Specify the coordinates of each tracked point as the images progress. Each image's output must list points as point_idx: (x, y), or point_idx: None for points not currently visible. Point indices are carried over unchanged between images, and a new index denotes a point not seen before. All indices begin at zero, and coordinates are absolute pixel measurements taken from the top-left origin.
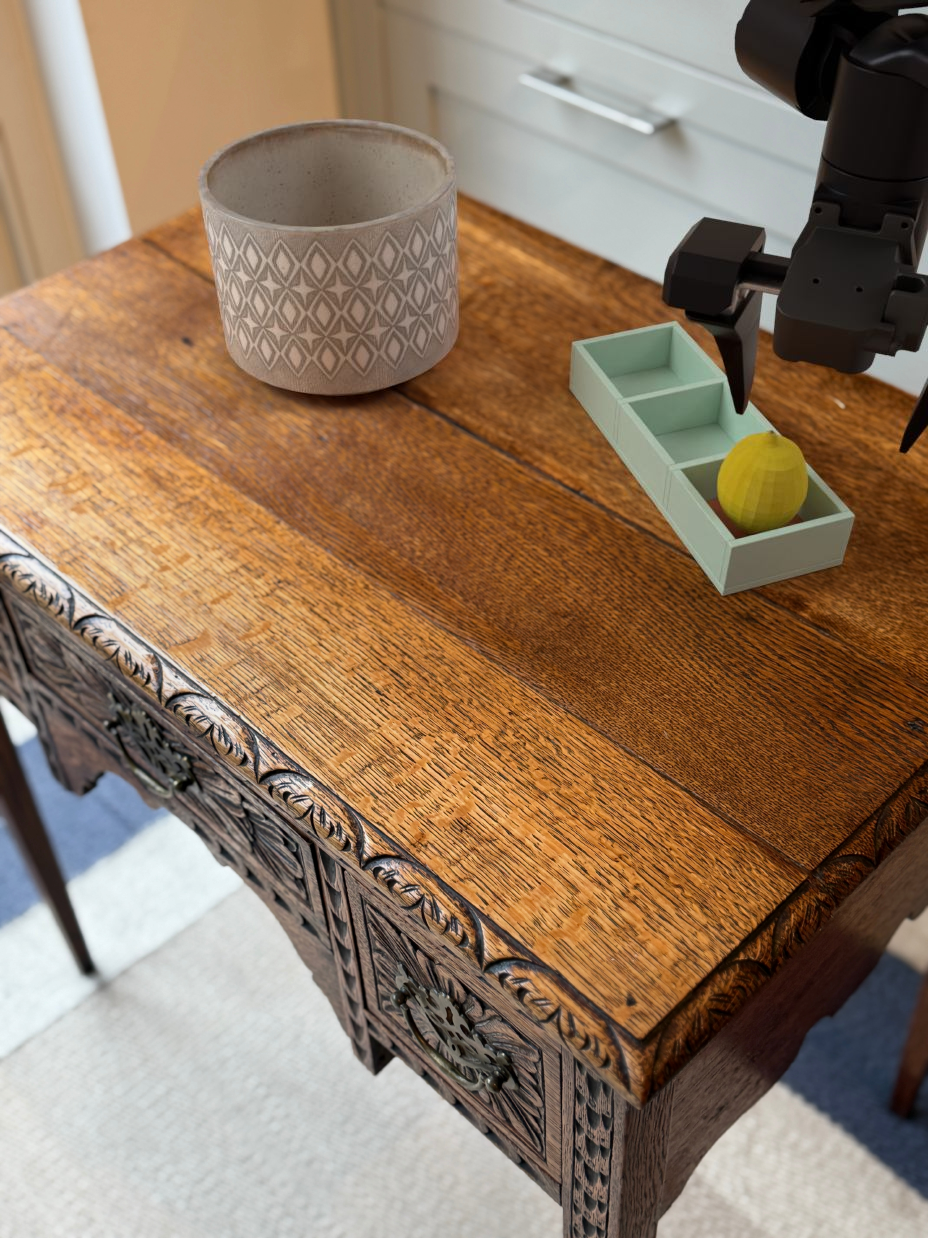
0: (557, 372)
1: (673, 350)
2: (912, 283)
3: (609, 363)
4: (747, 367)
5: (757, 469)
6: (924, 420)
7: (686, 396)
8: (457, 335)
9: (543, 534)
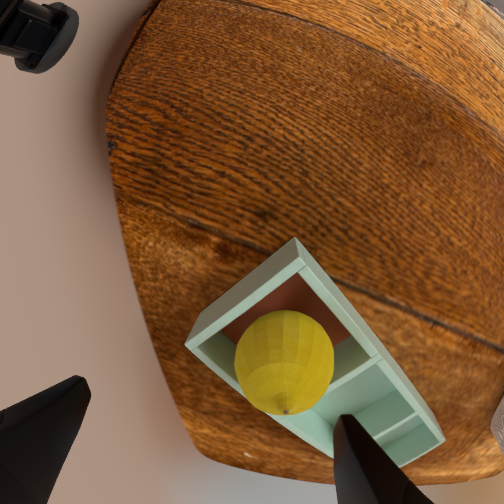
0: (438, 421)
1: None
2: None
3: (413, 439)
4: (358, 493)
5: (293, 360)
6: (24, 405)
7: None
8: (494, 413)
9: (455, 262)
